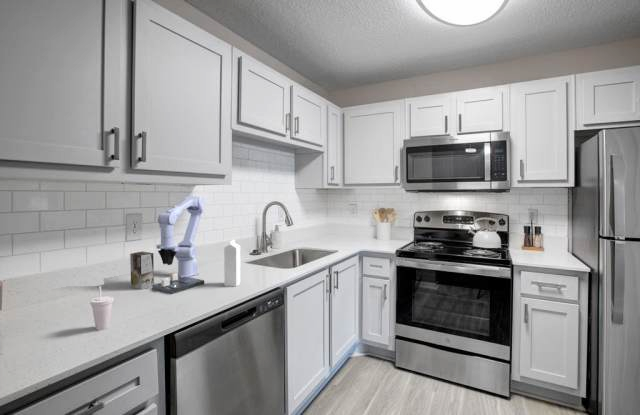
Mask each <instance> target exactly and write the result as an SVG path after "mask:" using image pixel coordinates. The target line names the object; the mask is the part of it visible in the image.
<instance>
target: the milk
mask: <svg viewBox="0 0 640 415" xmlns="http://www.w3.org/2000/svg"><path fill="white" fill-rule="evenodd" d="M223 250H224V252H223V253H224V274H223V277H224V287H238V286H239V285H240V284H241V245H240V244H238V243H236V240H235V239H232V240H231V241H230V242H229V244H228V245H227V246H224V249H223Z"/></svg>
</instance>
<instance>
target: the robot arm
mask: <svg viewBox="0 0 640 415" xmlns="http://www.w3.org/2000/svg"><path fill="white" fill-rule="evenodd" d="M205 206H206V201H205V198H204V197H203V196H186V197H184V198H183V201H182V202H181V203H180V204H179V205H172V206H171V208H169V209H167V210H166V212H161V213H160V214H159V215H158V217H157V222H158V224H159V228H160V243H159V244H156V249H157V250H158V251H157V252H158V254H159V256H160V258H161V261H162V264H163V265H167V266H172V265H173V262H174V259H175V258H176V260H177V267H178V268H177V273H178V278H181V277H185V276H186V277H192V276H195V275H196V276H197V275H199V272H198V260H197V259H196V258H195V257H196V255H197V247H198V246H197V245H196V244H195V241H194V240H195V238H196V234H197V230H198V226H199V223H200V219H201V217H202V214H203V212H204V209H205ZM183 211H187V213H189V214H190V217H189V221H188V223H187V226H186V229H185V233H184V236H183V240H181V241H180V242H179V243H177V246H176V245H175V243H174V240H175V238H174V235H175V233H174V232H175V231H174V230H175V229H174V224H176V222H177V220H178V218H179V217H181V216H182V215H183V213H184V212H183ZM174 257H175V258H174Z"/></svg>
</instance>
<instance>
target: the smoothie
mask: <svg viewBox="0 0 640 415" xmlns="http://www.w3.org/2000/svg"><path fill="white" fill-rule="evenodd" d="M98 293H99V294H98V296H97V297H94V298H92V299H91V300H90V306H91V308H92V314H93V319H94V324H95V330H96V331H102V330H107V329H109V328H110V324H111V315H112V308H113V307H112V306H113V302H114V297H113V296H111V295H110V296H106V295H105V296H102V285H99V287H98Z"/></svg>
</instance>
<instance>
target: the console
mask: <svg viewBox="0 0 640 415" xmlns="http://www.w3.org/2000/svg"><path fill="white" fill-rule="evenodd" d="M203 285H205V280H204V279H200V278H196V277H195V278H194V277H192V276H189V277H186V276H185V277H178V280H174V281H171V280H170V285H168V286H165V287H164V286H162V282H159V283H154V285H152V287H151V289H152V290H153V291H156V292H162V293H166V294H170V295H174V294H177V293H181V292H184V291H187V290H190V289H193V288H197V287H200V286H203Z"/></svg>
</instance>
